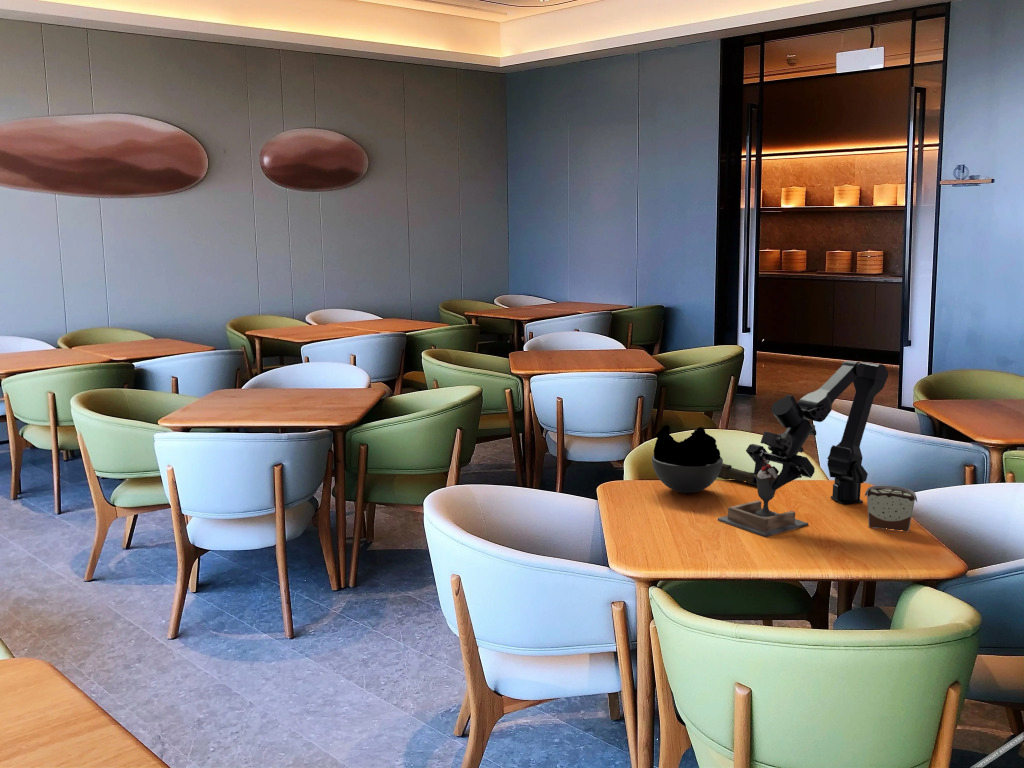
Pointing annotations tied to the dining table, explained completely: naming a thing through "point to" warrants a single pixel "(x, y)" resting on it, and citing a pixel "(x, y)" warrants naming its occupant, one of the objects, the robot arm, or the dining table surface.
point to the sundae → (766, 487)
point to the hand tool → (735, 474)
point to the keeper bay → (760, 520)
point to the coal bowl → (686, 461)
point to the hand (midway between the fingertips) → (763, 486)
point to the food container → (890, 507)
